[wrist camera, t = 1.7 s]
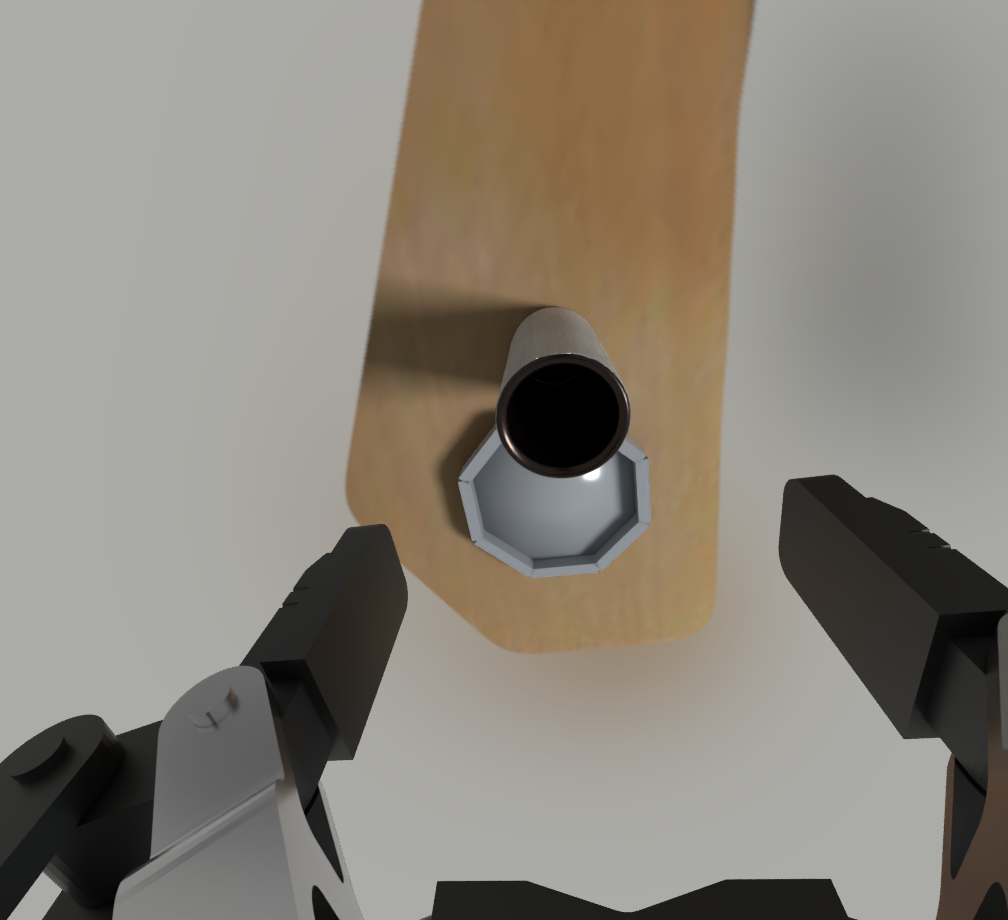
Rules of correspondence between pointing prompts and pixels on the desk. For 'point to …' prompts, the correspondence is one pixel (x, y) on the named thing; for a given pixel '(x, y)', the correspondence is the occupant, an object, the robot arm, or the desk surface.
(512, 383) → the planter
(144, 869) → the robot arm
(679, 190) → the desk surface
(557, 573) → the saucer
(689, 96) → the desk surface
